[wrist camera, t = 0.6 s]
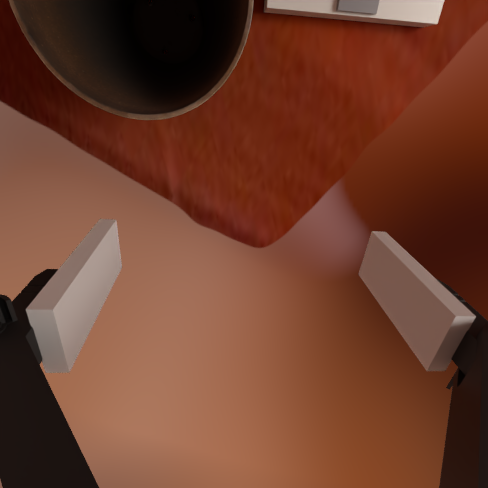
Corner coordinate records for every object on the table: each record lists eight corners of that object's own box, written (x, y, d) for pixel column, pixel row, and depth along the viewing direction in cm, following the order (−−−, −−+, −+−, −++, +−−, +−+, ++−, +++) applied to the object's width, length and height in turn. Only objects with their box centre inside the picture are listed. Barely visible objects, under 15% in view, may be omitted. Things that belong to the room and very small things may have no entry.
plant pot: (167, 130, 38) (137, 162, 24) (62, 9, 32) (-62, -45, 17) (266, 42, 34) (299, 17, 20) (170, -114, 28) (121, -308, 14)
